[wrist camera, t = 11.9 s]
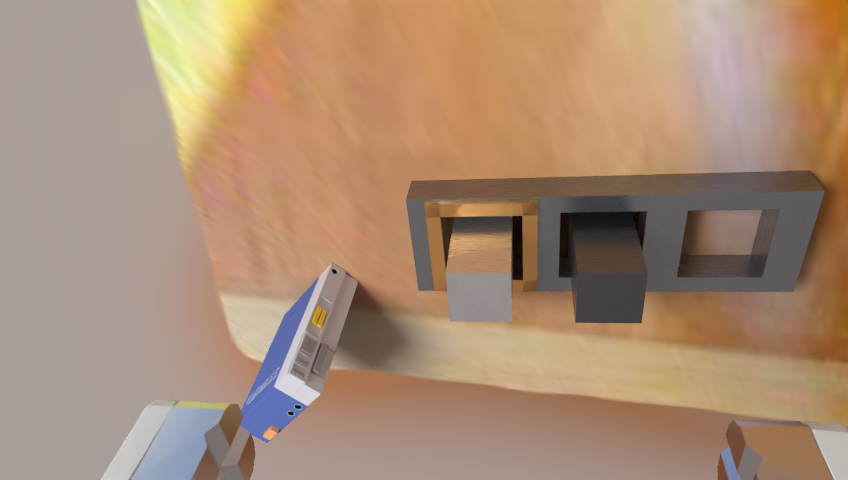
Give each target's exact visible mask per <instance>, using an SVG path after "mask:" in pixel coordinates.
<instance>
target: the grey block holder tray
mask: <svg viewBox="0 0 848 480" xmlns="http://www.w3.org/2000/svg"><path fill="white" fill-rule="evenodd" d="M824 193H825V190H824V189H823V188H822V186H821V185H820V184H819V182H818V181H817V180H816V178H815V177H814V176H813V174H812V173H811V172H810V171H787V172H748V173H710V174H671V175H632V176H594V177H555V178H517V179H478V180H439V181H411V184H410V188H409V191H408V195H407V199H406V202H407V210H408V217H409V224H410V231H411V238H412V246H413V253H414V260H415V267H416V275H417V282H418V289H419V291H447V283H446V267H447V260H448V254H449V239H448V229H447V218H446V217H481V216H522V233H523V257H513V291H572V285H571V276H570V266H569V257H568V256H559V247H560V213H573V212H632V211H639V215H638V224H637V233H638V237H639V241H640V245H641V248H642V252H643V256H644V260H645V263H646V267H647V271H648V277H647V284H646V291H738V292H794V289H795V286H796V283H797V280H798V276H799V273H800V270H801V267H802V264H803V260H804V257H805V254H806V251H807V248H808V244H809V241H810V238H811V235H812V232H813V228H814V225H815V222H816V219H817V216H818V212H819V209H820V206H821V203H822V200H823V196H824ZM751 209H763V210H762V214H761V218H760V222H759V226H758V230H757V234H756V238H755V242H754V246H753V250H752V254H751V255H712V256H680V255H681V249H682V244H683V238H684V232H685V226H686V220H687V214H688V211H692V210H751Z"/></svg>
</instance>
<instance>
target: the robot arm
mask: <svg viewBox="0 0 848 480" xmlns="http://www.w3.org/2000/svg"><path fill="white" fill-rule="evenodd" d="M243 417H244V416H243V414H242V412H241V410H240V408H239V405H238V404H227V403H210V402H194V401H177V400H156V399H155V400H153V401H152V402H151V403H150V404H148V405H147V406H146V407H145V409H144V410H143V412H142V413H141V415H140V417H139V418H138V420H137V422H136V423H135V425H134V426H133V428H132V430H131V431H130V433H129V435H128V436H127V438H126V439H125V441H124V443H123V444H122V446H121V447H120V449H119V451H118V452H117V454H116V456H115V457H114V459H113V461H112V462H111V464H110V465H109V467H108V468H107V470H106V472H105V473H104V475H103V477H102V478H101V480H250V477H251V474H252V472H253V466H254V459H255V447H254V441H253V438H252V436H251V433H250V432H249V431H247V430H246V429H245V428H243V427H242V426H241V425H240V424H241V422H242V419H243ZM726 438H727V441H728V444H729V448H727V449H726V450H724V451H723V452H721V453H720V458H719V462H718V480H848V430H847V429H846V428H845V427H844V426H843V425H842V424H837V423H808V422H804V423H801V422H800V421H755V420H754V421H751V420H733V421H732V422H731V423H730V424H729V426H728V429H727V432H726Z"/></svg>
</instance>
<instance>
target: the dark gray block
mask: <svg viewBox="0 0 848 480" xmlns="http://www.w3.org/2000/svg"><path fill="white" fill-rule="evenodd" d="M568 257H569V266H570V276H571V285H572V295H573V304H574V314H575V322H576V323H641V322H642V314H643V307H644V299H645V292H646V284H647V277H648V271H647V267H646V263H645V260H644V256H643V252H642V248H641V245H640V241H639V237H638V233H637V230H636V226H635V222H634V218H633V215H632V212H573V213H569V223H568Z"/></svg>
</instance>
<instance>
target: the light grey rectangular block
mask: <svg viewBox="0 0 848 480" xmlns="http://www.w3.org/2000/svg"><path fill="white" fill-rule="evenodd" d="M446 283H447V293H448V303H449V312H450V321H476V322H512V304H513V216H481V217H454V222H453V228H452V235H451V241H450V248H449V254H448V260H447V267H446Z"/></svg>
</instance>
